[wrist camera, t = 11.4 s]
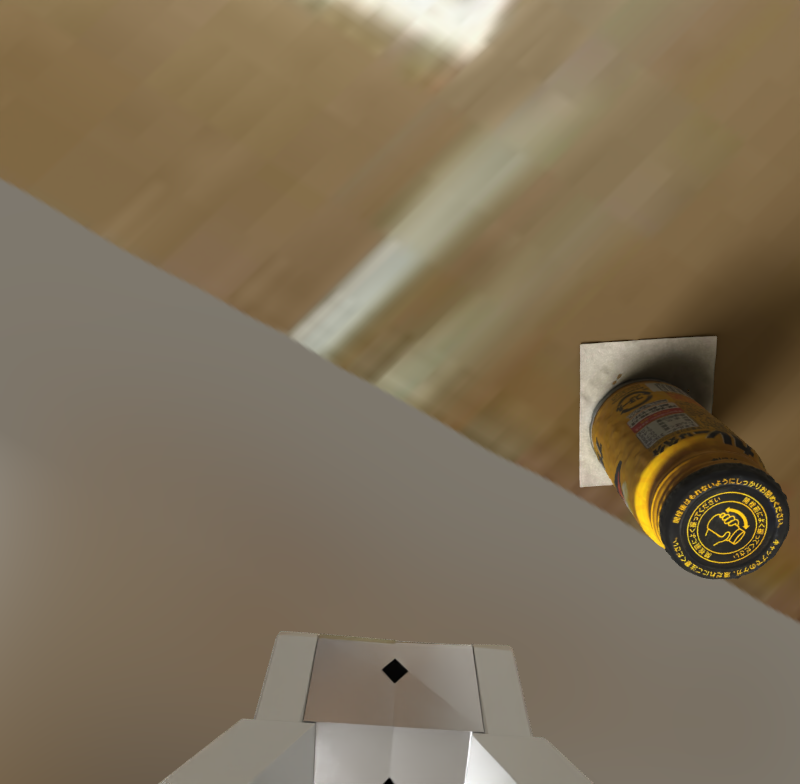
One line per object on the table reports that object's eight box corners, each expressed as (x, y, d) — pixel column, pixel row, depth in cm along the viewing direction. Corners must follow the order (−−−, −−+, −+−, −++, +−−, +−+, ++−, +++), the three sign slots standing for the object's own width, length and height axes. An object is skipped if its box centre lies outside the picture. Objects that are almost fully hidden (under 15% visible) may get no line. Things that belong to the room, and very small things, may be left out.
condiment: (579, 485, 43) (642, 604, 31) (579, 343, 40) (648, 416, 29) (706, 478, 42) (817, 594, 31) (714, 334, 40) (838, 404, 28)
